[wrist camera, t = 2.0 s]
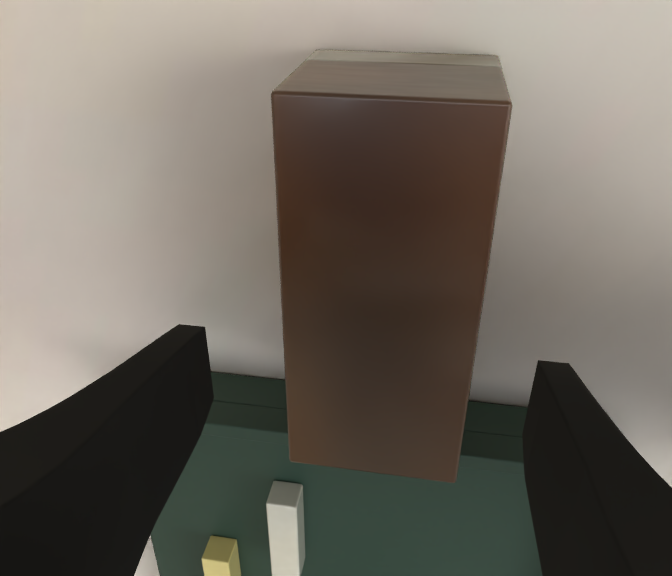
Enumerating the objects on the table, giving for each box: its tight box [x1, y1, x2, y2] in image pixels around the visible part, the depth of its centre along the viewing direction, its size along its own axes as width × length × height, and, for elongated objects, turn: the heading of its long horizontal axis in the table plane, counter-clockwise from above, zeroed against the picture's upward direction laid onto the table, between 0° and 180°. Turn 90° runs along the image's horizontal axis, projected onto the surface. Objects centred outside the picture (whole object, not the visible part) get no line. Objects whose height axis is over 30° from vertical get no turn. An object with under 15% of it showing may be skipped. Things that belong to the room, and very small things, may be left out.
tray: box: [150, 372, 543, 576], centre depth 26 cm, size 18×16×3 cm
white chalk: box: [266, 480, 305, 576], centre depth 25 cm, size 1×4×1 cm, turn 0°
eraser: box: [271, 49, 512, 483], centre depth 18 cm, size 5×11×5 cm, turn 0°
